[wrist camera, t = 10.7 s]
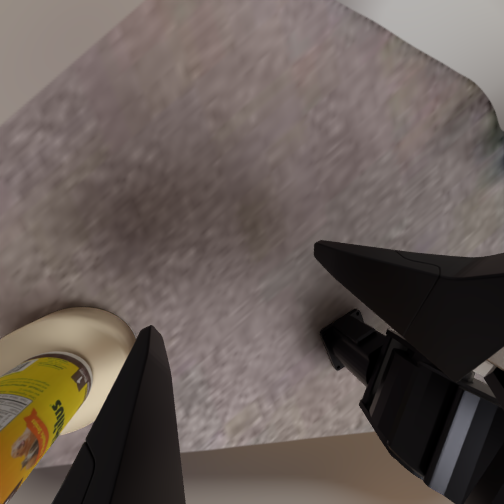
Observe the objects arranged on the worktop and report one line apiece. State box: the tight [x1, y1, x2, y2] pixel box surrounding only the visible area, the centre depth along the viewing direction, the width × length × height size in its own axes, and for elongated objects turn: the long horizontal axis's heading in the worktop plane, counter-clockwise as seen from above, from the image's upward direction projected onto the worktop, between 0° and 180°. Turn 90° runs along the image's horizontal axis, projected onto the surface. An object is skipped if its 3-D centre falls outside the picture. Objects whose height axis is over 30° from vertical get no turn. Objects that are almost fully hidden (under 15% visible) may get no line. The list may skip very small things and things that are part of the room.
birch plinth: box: [0, 307, 136, 435], centre depth 16 cm, size 10×10×3 cm
